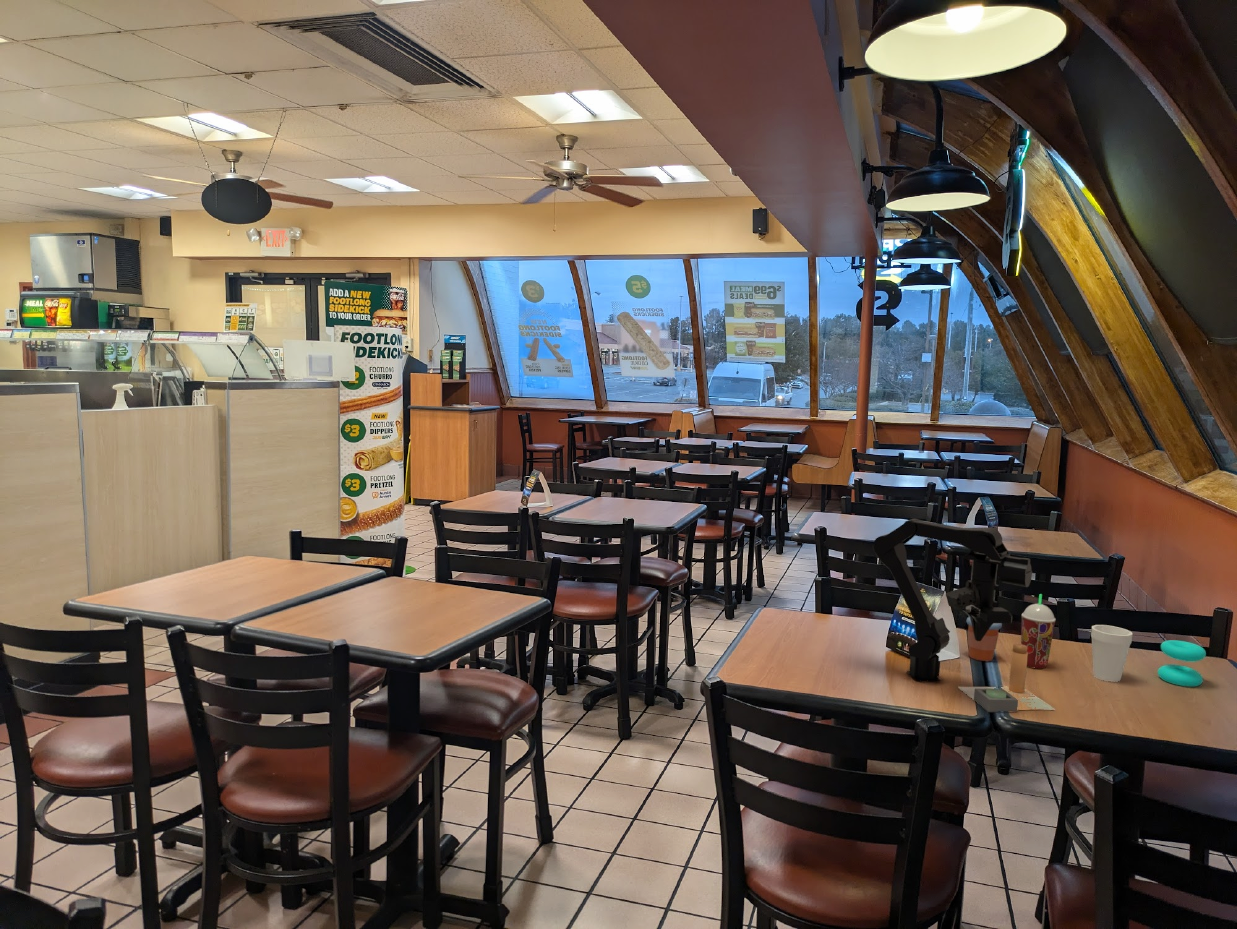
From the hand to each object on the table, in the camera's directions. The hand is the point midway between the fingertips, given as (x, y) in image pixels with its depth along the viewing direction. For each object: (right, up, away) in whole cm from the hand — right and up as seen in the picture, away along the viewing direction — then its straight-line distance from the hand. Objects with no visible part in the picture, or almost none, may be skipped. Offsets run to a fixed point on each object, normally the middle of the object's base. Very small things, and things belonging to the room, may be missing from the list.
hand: (978, 640), depth 212 cm
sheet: (+5, -14, -3) cm, 15 cm away
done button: (+1, -14, -8) cm, 16 cm away
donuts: (+60, -14, +15) cm, 63 cm away
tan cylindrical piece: (+10, -13, +2) cm, 17 cm away
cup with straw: (+12, -11, +28) cm, 32 cm away
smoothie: (+25, -12, +23) cm, 36 cm away
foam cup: (+40, -13, +15) cm, 45 cm away
